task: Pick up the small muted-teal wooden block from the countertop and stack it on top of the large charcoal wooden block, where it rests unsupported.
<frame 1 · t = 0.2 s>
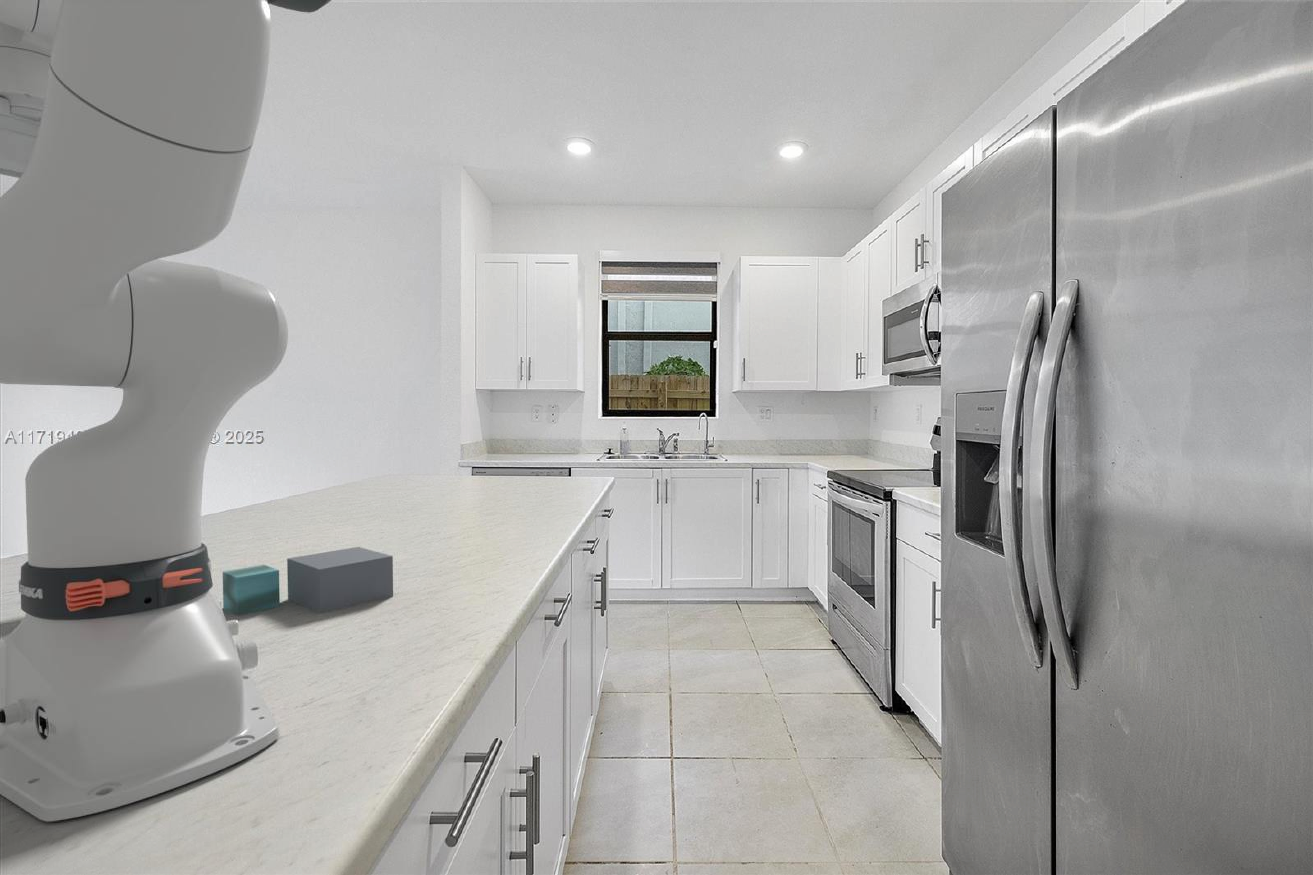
hand: (43, 221, 71), 47 cm above the countertop, fingers open, 8 cm apart
charcoal block: (341, 599, 90), on the countertop
teal block: (251, 607, 85), on the countertop
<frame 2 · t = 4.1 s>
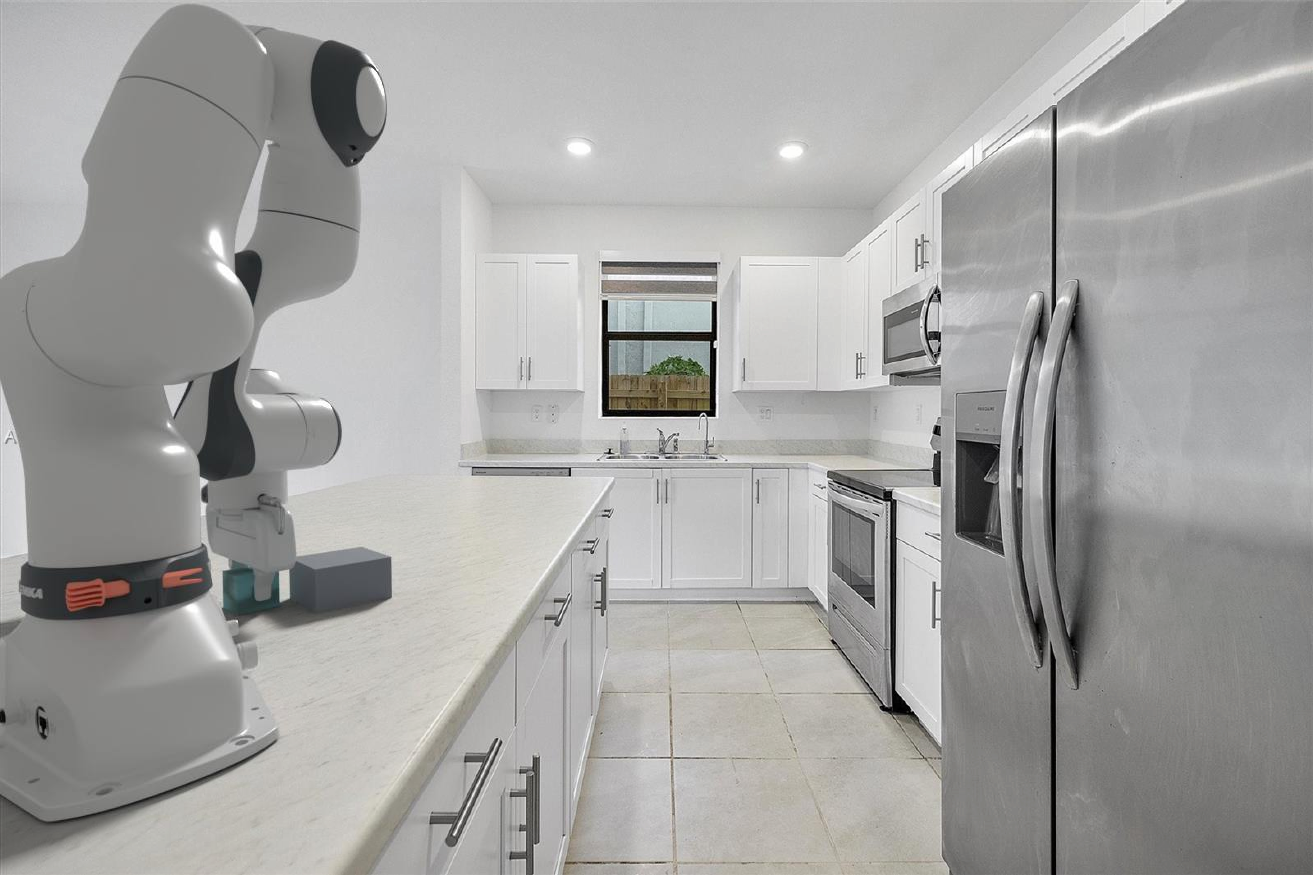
hand: (251, 595, 85), 2 cm above the countertop, fingers closed on teal block, 5 cm apart
teal block: (251, 607, 85), on the countertop, touching gripper
everything else where it was.
when the fingers open (10 cm above the countertop, at t = 9.3 s): teal block drops 2 cm, resting on charcoal block.
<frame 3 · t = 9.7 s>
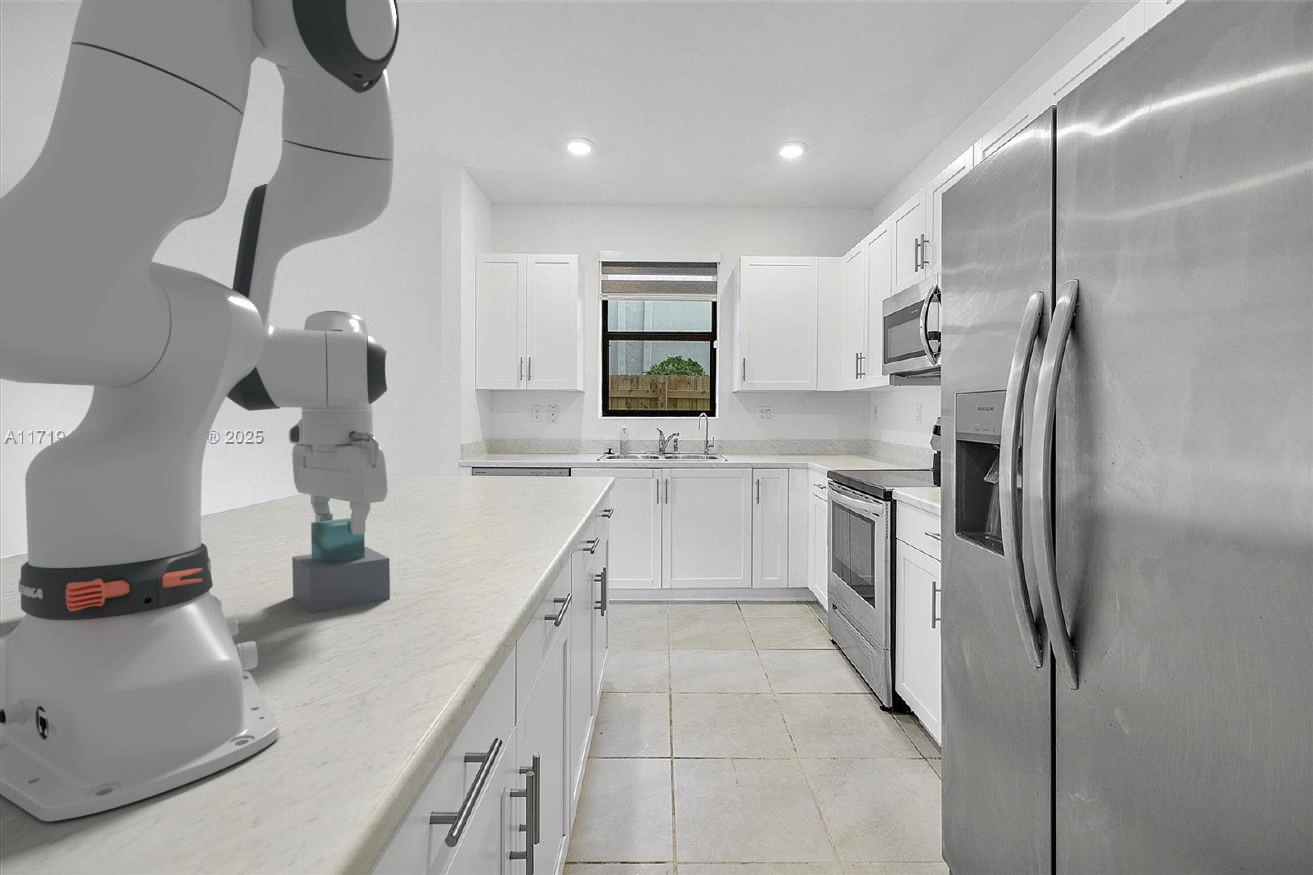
hand: (339, 530, 89), 10 cm above the countertop, fingers open, 8 cm apart
charcoal block: (341, 599, 90), on the countertop, touching teal block
teal block: (338, 557, 89), point 6 cm above the countertop, touching charcoal block
everything else where it was.
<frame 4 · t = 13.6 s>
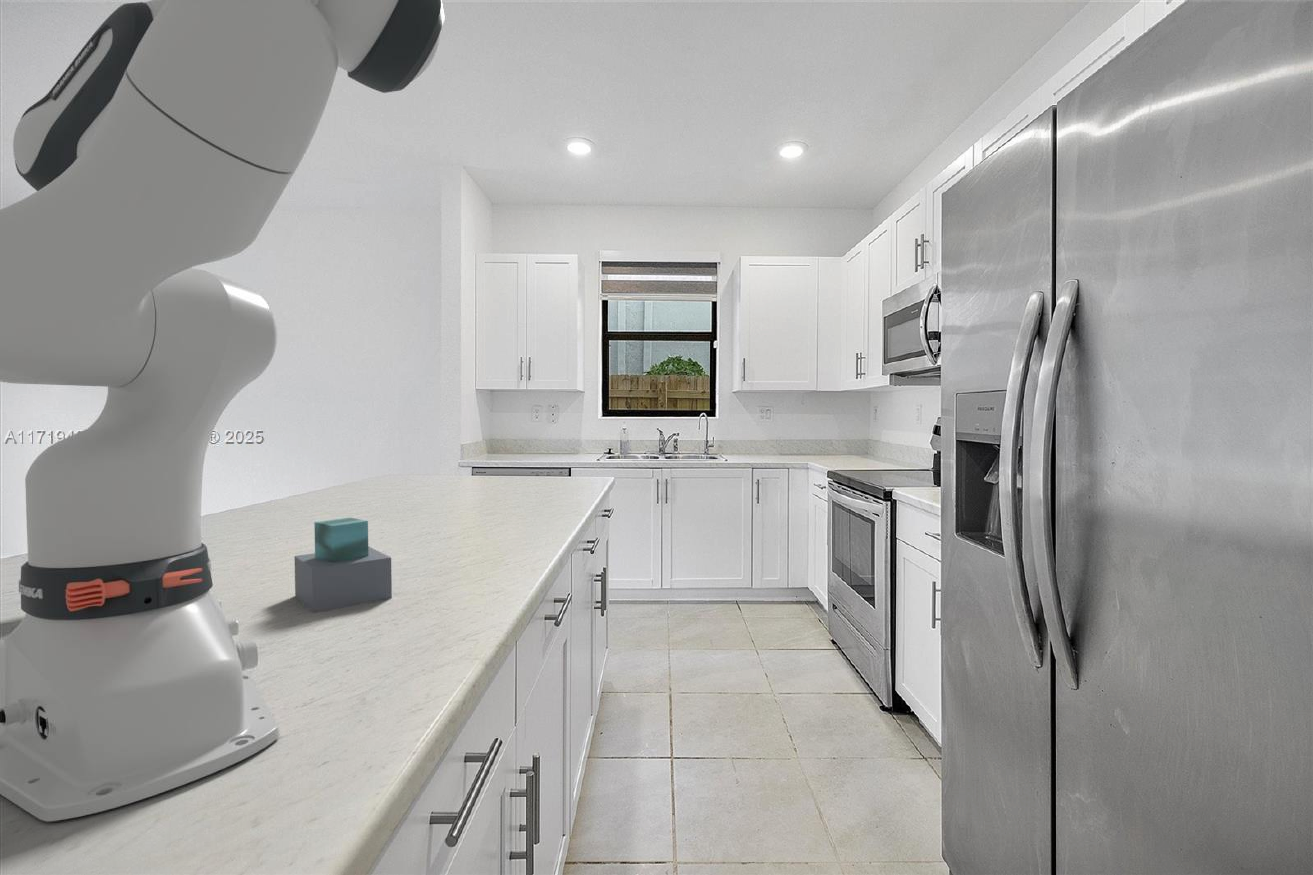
hand: (151, 372, 80), 31 cm above the countertop, fingers open, 8 cm apart
charcoal block: (343, 598, 90), on the countertop
teal block: (341, 556, 90), point 6 cm above the countertop
everything else where it was.
at the end: teal block 0.1 cm off-centre on the charcoal block, point 6.0 cm above the charcoal block's base; teal block tilted 0°; the gripper is holding nothing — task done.
